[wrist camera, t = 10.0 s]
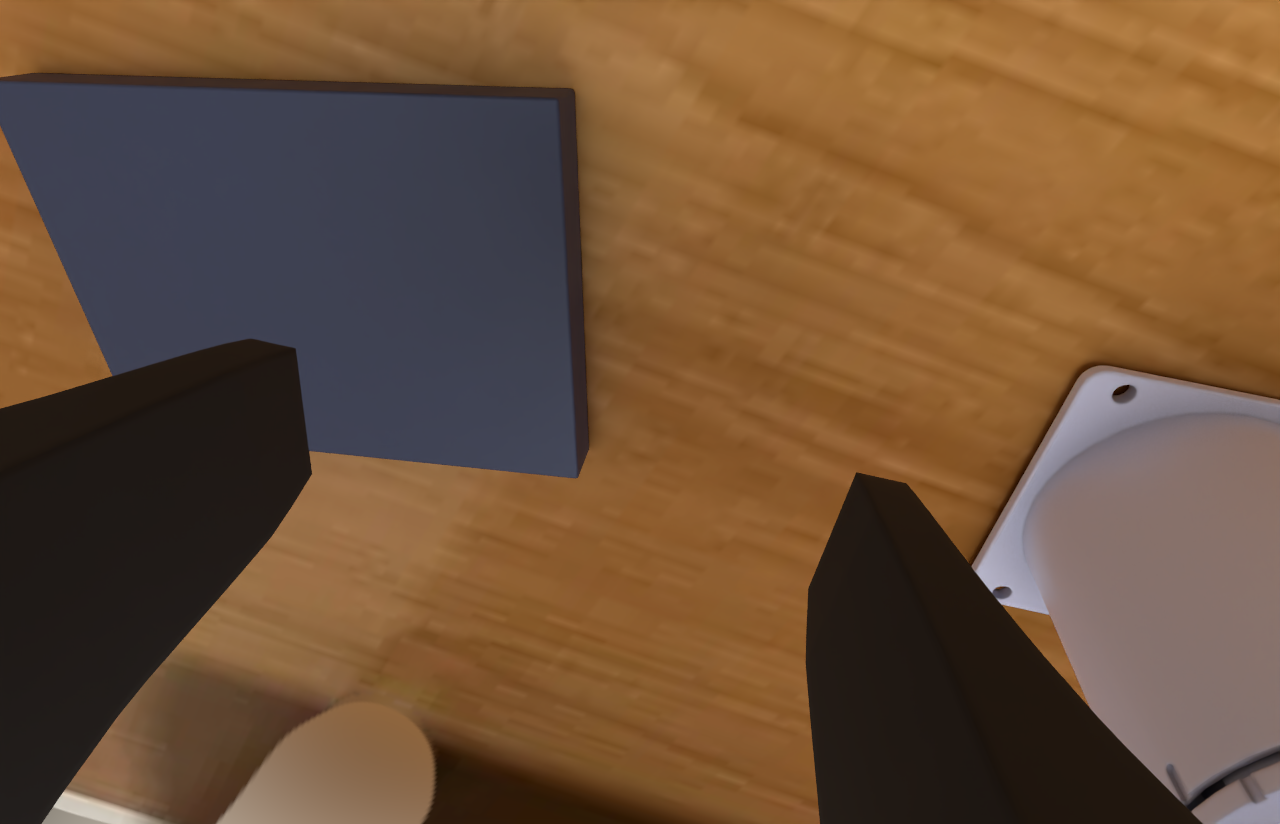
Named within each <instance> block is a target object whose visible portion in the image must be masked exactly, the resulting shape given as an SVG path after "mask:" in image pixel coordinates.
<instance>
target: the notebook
mask: <svg viewBox="0 0 1280 824" xmlns="http://www.w3.org/2000/svg"><path fill="white" fill-rule="evenodd" d="M0 126H1V128H2V131H3V133H4V135H5V137H6V140H7V142H8V144H9V146H10V148H11V151H12V153H13V155H14V157H15V160H16V162H17V164H18V166H19V168H20V171H21V173H22V175H23V177H24V180H25V182H26V184H27V186H28V188H29V191H30V193H31V195H32V197H33V200H34V202H35V204H36V206H37V209H38V211H39V213H40V215H41V217H42V220H43V222H44V224H45V226H46V229H47V231H48V233H49V235H50V237H51V240H52V242H53V244H54V246H55V249H56V251H57V253H58V255H59V258H60V260H61V262H62V264H63V266H64V269H65V271H66V273H67V275H68V278H69V280H70V282H71V284H72V286H73V289H74V291H75V293H76V295H77V298H78V300H79V302H80V304H81V306H82V309H83V311H84V313H85V315H86V318H87V320H88V322H89V324H90V327H91V329H92V331H93V333H94V335H95V338H96V340H97V342H98V344H99V347H100V349H101V351H102V353H103V355H104V358H105V360H106V362H107V364H108V367H109V369H110V371H111V373H112V375H113V376H115V375H118V374H121V373H125V372H128V371H131V370H135V369H138V368H141V367H145V366H148V365H151V364H155V363H158V362H161V361H165V360H168V359H171V358H175V357H178V356H182V355H185V354H188V353H192V352H196V351H199V350H203V349H206V348H210V347H214V346H218V345H222V344H226V343H230V342H235V341H240V340H245V339H250V338H251V339H256V340H260V341H265V342H269V343H274V344H278V345H283V346H287V347H292V348H296V354H297V362H298V370H299V377H300V385H301V393H302V401H303V409H304V416H305V424H306V432H307V440H308V447H309V451H316V452H325V453H335V454H345V455H354V456H364V457H374V458H383V459H393V460H403V461H412V462H422V463H432V464H442V465H451V466H461V467H471V468H480V469H490V470H500V471H509V472H519V473H529V474H539V475H548V476H558V477H568V478H578V476H579V473H580V471H581V468H582V466H583V463H584V460H585V458H586V455H587V453H588V450H589V440H588V415H587V390H586V365H585V340H584V315H583V290H582V265H581V240H580V215H579V190H578V165H577V140H576V115H575V93H574V90H573V89H568V88H533V87H499V86H465V85H430V84H396V83H362V82H327V81H293V80H259V79H225V78H190V77H156V76H122V75H87V74H53V73H30V74H23V75H15V76H8V77H0Z"/></svg>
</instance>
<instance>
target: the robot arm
mask: <svg viewBox="0 0 1280 824" xmlns="http://www.w3.org/2000/svg"><path fill="white" fill-rule="evenodd" d="M1123 385H1130V386H1129V389H1128V390H1127V391H1126V392H1125V393H1122V394H1120V395H1112V394H1113V392H1114V391H1115V390H1116V389H1117V388H1118V387H1120V386H1123ZM311 475H312V471H311V463H310V455H309V447H308V440H307V432H306V424H305V416H304V409H303V401H302V393H301V385H300V377H299V370H298V362H297V354H296V348H292V347H287V346H283V345H278V344H274V343H269V342H265V341H260V340H256V339H251V338H250V339H245V340H240V341H235V342H230V343H226V344H222V345H218V346H214V347H210V348H206V349H203V350H199V351H196V352H192V353H188V354H185V355H182V356H178V357H175V358H171V359H168V360H165V361H161V362H158V363H155V364H151V365H148V366H145V367H141V368H138V369H135V370H131V371H128V372H125V373H121V374H118V375H115V376H112V377H108V378H105V379H102V380H98V381H95V382H92V383H88V384H85V385H82V386H78V387H75V388H72V389H69V390H65V391H62V392H59V393H55V394H52V395H48V396H45V397H41V398H38V399H34V400H30V401H27V402H23V403H19V404H16V405H12V406H9V407H5V408H1V409H0V824H42V822H43V820H44V819H45V818H46V816H47V815H48V813H49V812H50V810H51V809H52V807H53V806H54V804H55V803H56V801H57V800H58V799H59V797H60V796H61V794H62V793H63V792H64V790H65V789H66V787H67V786H68V785H69V783H70V782H71V780H72V779H73V778H74V776H75V775H76V773H77V772H78V771H79V769H80V768H81V767H82V765H83V764H84V762H85V761H86V760H87V758H88V757H89V755H90V754H91V753H92V751H93V750H94V748H95V747H96V746H97V744H98V743H99V742H100V740H101V739H102V737H103V736H104V735H105V733H106V732H107V730H108V729H109V728H110V726H111V725H112V723H113V722H114V721H115V719H116V718H117V717H118V715H119V714H120V713H121V712H122V710H123V709H124V708H125V707H126V705H127V704H128V703H129V702H130V701H131V699H132V698H133V697H134V696H135V694H136V693H137V692H138V691H139V689H140V688H141V687H142V686H143V684H144V683H145V682H146V681H147V680H148V678H149V677H150V676H151V675H152V674H153V673H154V672H155V670H156V669H157V668H158V667H159V666H160V665H161V664H162V662H163V661H164V660H165V659H166V658H167V657H168V656H169V654H170V653H171V652H172V651H173V650H174V649H175V648H176V646H177V645H178V644H179V643H180V642H181V641H182V640H183V638H184V637H185V636H186V635H187V634H188V633H189V632H190V630H191V629H192V628H193V627H194V626H195V625H196V624H197V622H198V621H199V620H200V619H201V618H202V617H203V616H204V614H205V613H206V612H207V611H208V610H209V609H210V608H211V607H212V605H213V604H214V603H215V602H216V601H217V600H218V599H219V597H220V596H221V595H222V594H223V593H224V592H225V591H226V589H227V588H228V587H229V586H230V585H231V584H232V582H233V581H234V580H235V579H236V578H237V577H238V575H239V574H240V573H241V572H242V571H243V570H244V568H245V567H246V566H247V565H248V564H249V563H250V561H251V560H252V559H253V558H254V557H255V556H256V554H257V553H258V552H259V551H260V550H261V549H262V547H263V546H264V545H265V544H266V543H267V541H268V540H269V539H270V538H271V537H272V535H273V534H274V532H275V531H276V529H277V528H278V526H279V525H280V523H281V522H282V520H283V519H284V517H285V516H286V514H287V513H288V511H289V510H290V508H291V507H292V505H293V504H294V502H295V500H296V499H297V497H298V496H299V494H300V492H301V491H302V489H303V488H304V486H305V484H306V483H307V481H308V480H309V478H310V476H311ZM1000 586H1006V587H1004V588H1002V589H995V588H997V587H1000ZM1001 604H1002V605H1007V606H1011V607H1016V608H1020V609H1025V610H1030V611H1034V612H1039V613H1043V614H1048V615H1050V617H1051V619H1052V621H1053V624H1054V626H1055V628H1056V631H1057V633H1058V635H1059V637H1060V640H1061V642H1062V644H1063V647H1064V649H1065V651H1066V654H1067V656H1068V658H1069V661H1070V663H1071V665H1072V667H1073V670H1074V672H1075V674H1076V677H1077V679H1078V681H1079V684H1080V686H1081V688H1082V691H1083V693H1084V695H1085V697H1086V700H1087V702H1088V704H1089V707H1090V708H1089V707H1088V705H1087V704H1086V703H1085V702H1084V701H1083V700H1082V699H1081V698H1080V696H1079V695H1078V694H1077V693H1076V692H1075V691H1074V690H1073V688H1072V687H1071V686H1070V685H1069V684H1068V683H1067V682H1066V681H1065V679H1064V678H1063V677H1062V676H1061V675H1060V674H1059V673H1058V672H1057V670H1056V669H1055V668H1054V667H1053V666H1052V665H1051V664H1050V663H1049V661H1048V660H1047V659H1046V658H1045V657H1044V656H1043V654H1042V653H1041V652H1040V651H1039V650H1038V649H1037V647H1036V646H1035V645H1034V644H1033V643H1032V641H1031V640H1030V639H1029V638H1028V637H1027V635H1026V634H1025V633H1024V632H1023V631H1022V630H1021V628H1020V627H1019V626H1018V625H1017V623H1016V622H1015V621H1014V620H1013V619H1012V617H1011V616H1010V615H1009V614H1008V612H1007V611H1006V610H1005V609H1004V607H1003V606H1002V605H1001ZM806 672H807V684H808V696H809V707H810V719H811V730H812V741H813V751H814V762H815V773H816V784H817V794H818V805H819V816H820V824H1280V400H1279V399H1274V398H1269V397H1264V396H1259V395H1253V394H1248V393H1243V392H1238V391H1233V390H1228V389H1223V388H1218V387H1213V386H1208V385H1203V384H1198V383H1193V382H1188V381H1183V380H1178V379H1173V378H1168V377H1163V376H1158V375H1153V374H1148V373H1143V372H1138V371H1133V370H1128V369H1123V368H1118V367H1113V366H1105V365H1099V366H1095V367H1092V368H1089V369H1088V370H1086V371H1085V372H1083V373H1082V374H1081V375H1080V377H1079V378H1078V379H1077V381H1076V382H1075V384H1074V386H1073V388H1072V389H1071V391H1070V393H1069V395H1068V397H1067V398H1066V400H1065V402H1064V404H1063V405H1062V407H1061V409H1060V411H1059V412H1058V414H1057V416H1056V418H1055V420H1054V421H1053V423H1052V425H1051V427H1050V428H1049V430H1048V432H1047V434H1046V435H1045V437H1044V439H1043V441H1042V443H1041V444H1040V446H1039V448H1038V450H1037V451H1036V453H1035V455H1034V457H1033V458H1032V460H1031V462H1030V464H1029V465H1028V467H1027V469H1026V471H1025V473H1024V474H1023V476H1022V478H1021V480H1020V481H1019V483H1018V485H1017V487H1016V488H1015V490H1014V492H1013V494H1012V496H1011V497H1010V499H1009V501H1008V503H1007V504H1006V506H1005V508H1004V510H1003V511H1002V513H1001V515H1000V517H999V519H998V520H997V522H996V524H995V526H994V527H993V529H992V531H991V533H990V534H989V536H988V538H987V540H986V542H985V543H984V545H983V547H982V549H981V550H980V552H979V554H978V556H977V557H976V559H975V561H974V563H973V564H972V566H970V564H969V563H968V562H967V560H966V559H965V558H964V557H963V555H962V554H961V553H960V551H959V550H958V549H957V547H956V546H955V545H954V543H953V542H952V541H951V540H950V538H949V537H948V536H947V534H946V533H945V532H944V530H943V529H942V528H941V526H940V525H939V524H938V523H937V521H936V520H935V519H934V517H933V516H932V515H931V513H930V512H929V511H928V510H927V508H926V507H925V506H924V504H923V503H922V502H921V501H920V499H919V498H918V497H917V496H916V494H915V493H914V492H913V491H912V490H911V488H910V487H909V486H908V485H907V484H906V483H902V482H897V481H893V480H888V479H884V478H879V477H875V476H870V475H866V474H861V473H857V472H856V475H855V477H854V480H853V482H852V484H851V487H850V489H849V492H848V494H847V497H846V499H845V501H844V504H843V506H842V509H841V511H840V513H839V516H838V518H837V521H836V523H835V526H834V528H833V530H832V533H831V535H830V538H829V540H828V542H827V545H826V547H825V550H824V552H823V555H822V557H821V559H820V562H819V564H818V567H817V569H816V571H815V574H814V576H813V579H812V581H811V584H810V586H809V589H808V610H807V634H806Z"/></svg>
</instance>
